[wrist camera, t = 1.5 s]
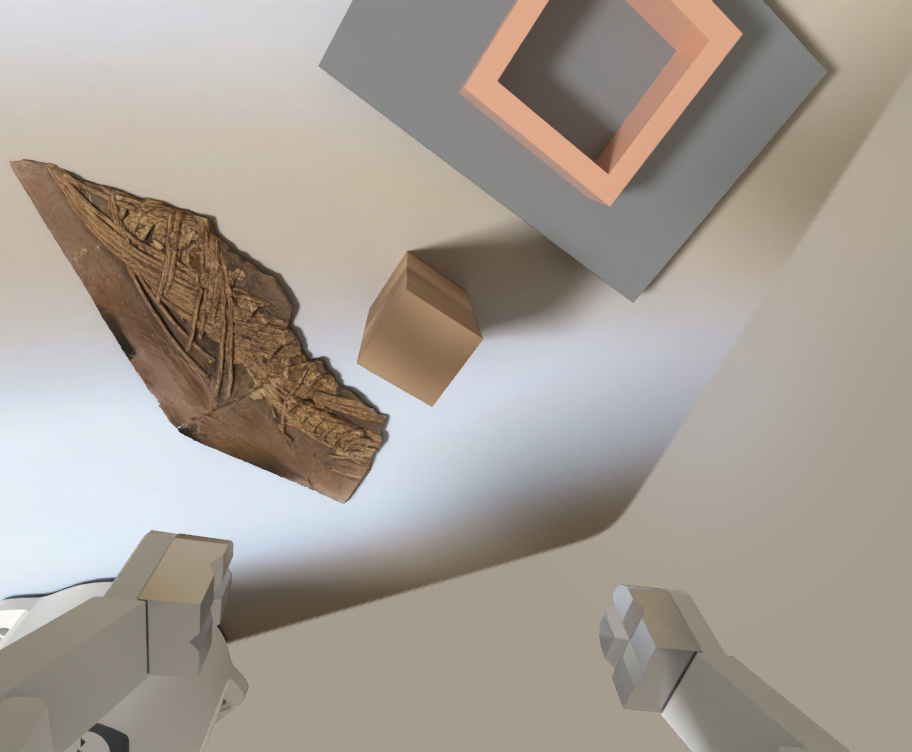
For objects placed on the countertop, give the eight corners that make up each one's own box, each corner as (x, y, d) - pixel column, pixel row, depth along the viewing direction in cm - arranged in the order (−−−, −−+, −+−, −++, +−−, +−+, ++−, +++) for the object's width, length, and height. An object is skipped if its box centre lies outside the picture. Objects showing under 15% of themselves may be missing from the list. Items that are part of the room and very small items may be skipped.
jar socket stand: (623, 295, 31) (655, 319, 27) (323, 69, 25) (306, 56, 21) (806, 75, 27) (877, 64, 23) (497, -260, 21) (518, -356, 17)
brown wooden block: (427, 344, 31) (432, 406, 24) (369, 308, 30) (356, 363, 23) (465, 290, 30) (483, 339, 23) (407, 251, 29) (406, 289, 22)
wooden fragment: (419, 457, 35) (419, 466, 34) (289, 531, 37) (285, 542, 36) (122, 80, 25) (110, 77, 24) (-38, 208, 27) (-55, 210, 26)
